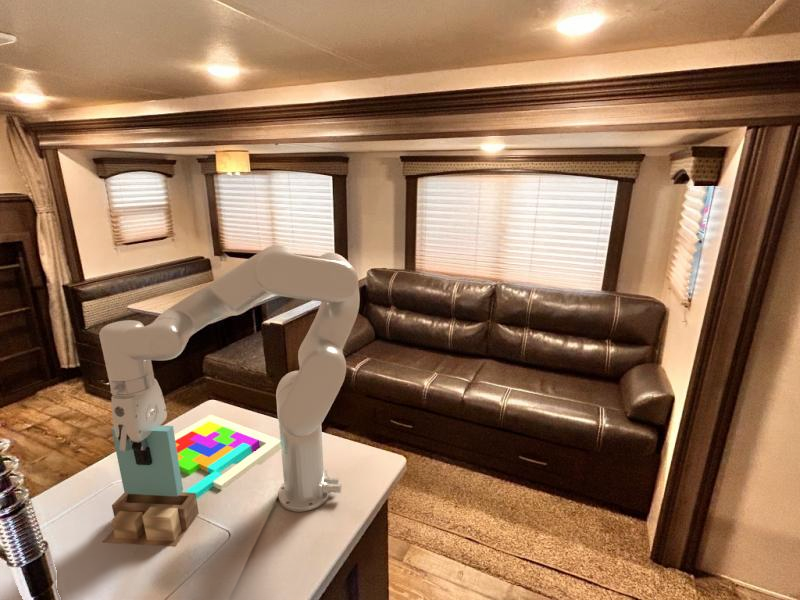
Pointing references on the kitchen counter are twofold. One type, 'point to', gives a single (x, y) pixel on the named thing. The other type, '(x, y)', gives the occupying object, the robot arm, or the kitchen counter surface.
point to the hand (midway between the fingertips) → (148, 459)
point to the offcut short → (128, 525)
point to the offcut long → (162, 523)
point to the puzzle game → (221, 451)
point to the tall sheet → (152, 466)
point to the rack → (144, 502)
